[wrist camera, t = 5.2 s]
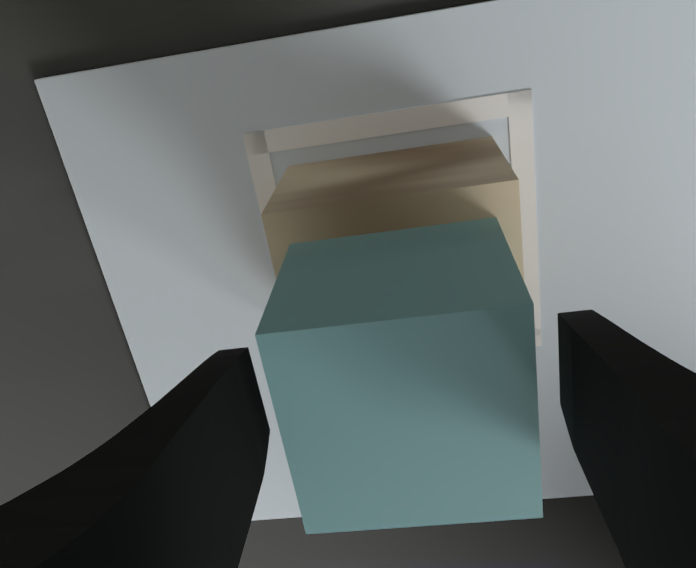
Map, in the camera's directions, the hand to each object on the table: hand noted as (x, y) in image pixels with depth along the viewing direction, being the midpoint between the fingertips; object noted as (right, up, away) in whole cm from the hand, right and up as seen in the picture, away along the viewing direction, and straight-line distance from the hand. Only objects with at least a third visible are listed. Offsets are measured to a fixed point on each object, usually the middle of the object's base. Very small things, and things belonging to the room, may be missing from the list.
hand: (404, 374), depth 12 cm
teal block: (0, +1, +2) cm, 3 cm away
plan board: (+1, +1, +7) cm, 7 cm away
